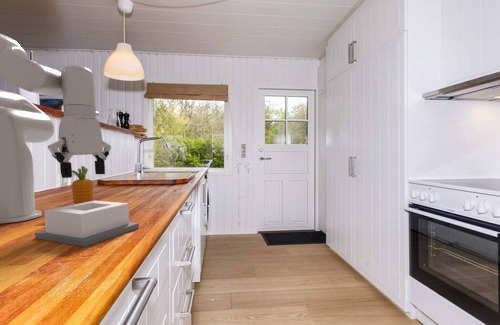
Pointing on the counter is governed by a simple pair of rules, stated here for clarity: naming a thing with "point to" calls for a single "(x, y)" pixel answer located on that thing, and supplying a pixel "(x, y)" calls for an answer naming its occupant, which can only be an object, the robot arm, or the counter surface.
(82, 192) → the carrot
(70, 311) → the counter surface
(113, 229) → the socket stand
